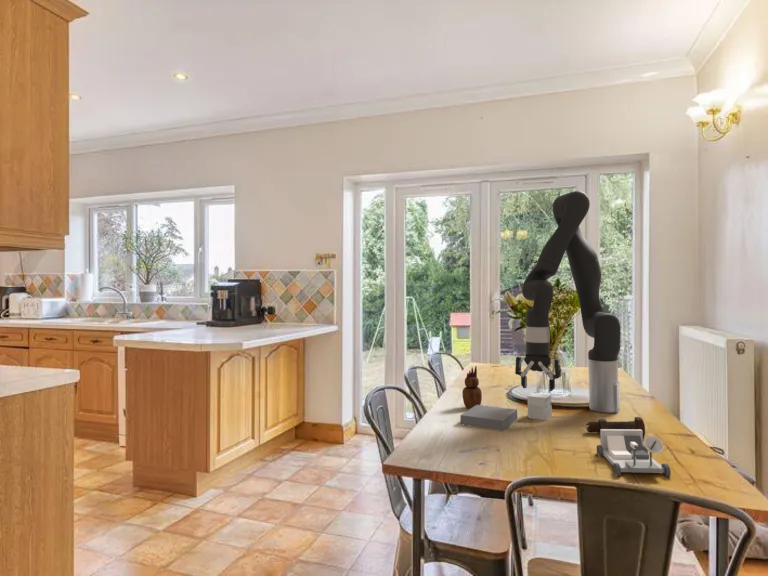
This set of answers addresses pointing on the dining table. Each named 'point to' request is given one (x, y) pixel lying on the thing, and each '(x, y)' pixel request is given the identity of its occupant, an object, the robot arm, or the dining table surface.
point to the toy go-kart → (631, 451)
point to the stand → (489, 417)
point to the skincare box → (539, 406)
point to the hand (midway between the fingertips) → (537, 389)
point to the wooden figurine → (472, 390)
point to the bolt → (616, 425)
